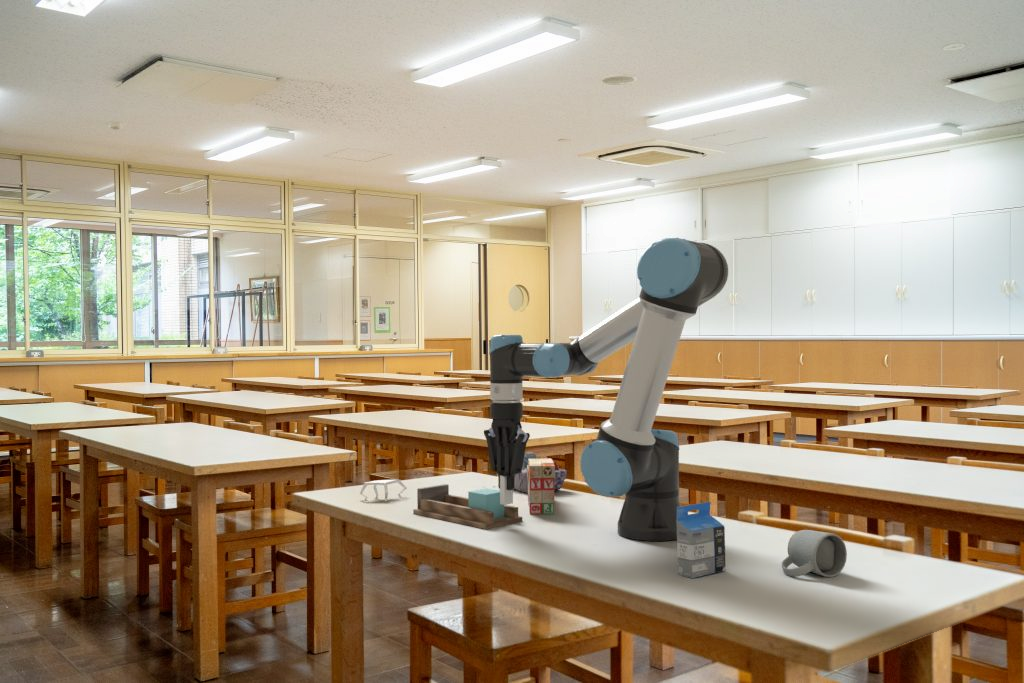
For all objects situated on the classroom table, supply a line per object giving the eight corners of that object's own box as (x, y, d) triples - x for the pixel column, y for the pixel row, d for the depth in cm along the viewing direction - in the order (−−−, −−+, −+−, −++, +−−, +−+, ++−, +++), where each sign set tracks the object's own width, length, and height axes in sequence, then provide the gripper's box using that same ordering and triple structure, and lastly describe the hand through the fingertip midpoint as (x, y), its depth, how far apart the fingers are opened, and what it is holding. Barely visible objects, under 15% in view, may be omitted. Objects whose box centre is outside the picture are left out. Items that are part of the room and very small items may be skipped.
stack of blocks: (527, 499, 229) (526, 453, 229) (550, 499, 229) (550, 453, 229) (529, 515, 208) (529, 464, 208) (555, 514, 208) (554, 464, 208)
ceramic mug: (814, 564, 160) (813, 523, 160) (848, 574, 152) (847, 532, 152) (770, 571, 155) (769, 529, 155) (803, 582, 148) (802, 539, 148)
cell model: (523, 447, 255) (573, 454, 241) (522, 483, 255) (572, 492, 241) (491, 450, 246) (541, 458, 232) (491, 488, 246) (540, 498, 232)
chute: (522, 521, 200) (522, 495, 200) (485, 529, 192) (485, 502, 192) (449, 506, 218) (449, 483, 218) (413, 513, 210) (413, 489, 210)
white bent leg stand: (377, 504, 223) (376, 485, 223) (358, 500, 229) (358, 481, 229) (412, 498, 232) (412, 480, 232) (394, 494, 238) (394, 476, 238)
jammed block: (504, 516, 200) (504, 491, 200) (486, 520, 196) (485, 494, 196) (486, 513, 204) (486, 488, 204) (468, 517, 200) (468, 491, 200)
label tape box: (692, 579, 150) (692, 509, 150) (675, 574, 153) (675, 506, 153) (726, 571, 155) (726, 504, 155) (709, 566, 158) (709, 501, 158)
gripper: (475, 400, 197) (475, 502, 197) (515, 403, 188) (515, 509, 188) (498, 399, 203) (498, 497, 203) (538, 401, 193) (538, 505, 193)
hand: (506, 503), depth 195 cm, fingers closed
